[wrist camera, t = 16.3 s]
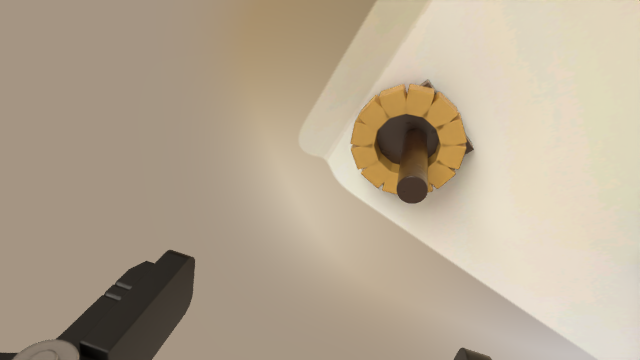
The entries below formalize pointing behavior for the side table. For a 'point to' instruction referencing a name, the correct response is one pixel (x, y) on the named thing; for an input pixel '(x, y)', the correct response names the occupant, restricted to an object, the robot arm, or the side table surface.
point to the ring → (417, 104)
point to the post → (411, 151)
